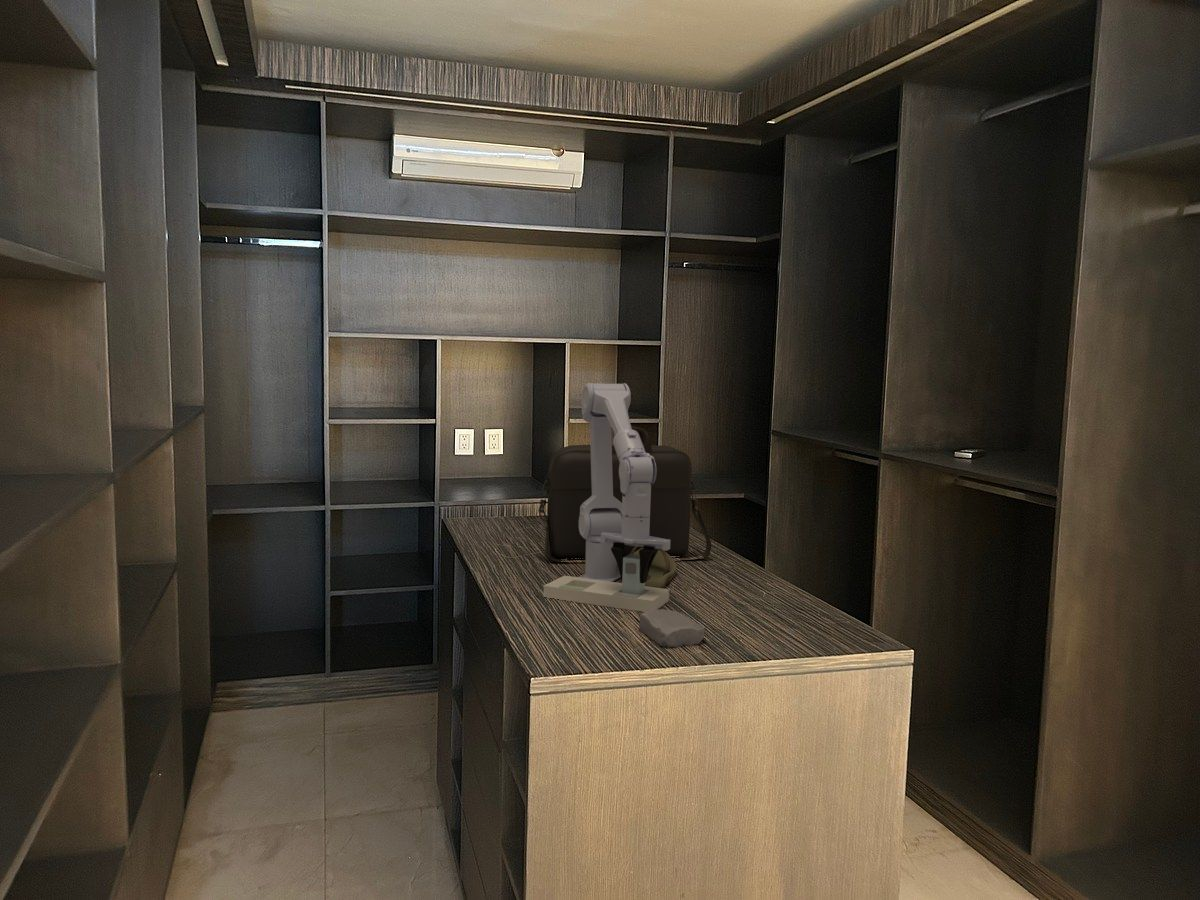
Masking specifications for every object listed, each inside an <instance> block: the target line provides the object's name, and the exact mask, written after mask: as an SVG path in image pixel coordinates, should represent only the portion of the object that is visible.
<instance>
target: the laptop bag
mask: <svg viewBox="0 0 1200 900" xmlns="http://www.w3.org/2000/svg"><path fill="white" fill-rule="evenodd" d="M631 428H632V429H633V430H636V431H637V432H638V434H639V436H640V439H641V441H642V444H643V447H644V449H645V452H646V453H649V455H650V456H653V458H654V460H655V463H656V479H655V482H654V483H653V484H651V501H650V529H649V536H653V537H658V538H663V539H669V540H670V549H669V550H667V551H665V550H664V551H665V552H666V553H667V554H669V555H670V556H683V555H685V556H686V555H687V554H688V552H689V547H690V546H689V545H690V525H691V512H692V515H693V516H694V518H695V519H696V521H697V523H698V524H699V527H700V528H701V531H702V532H703V535H704V537H705V543H706V548H705V550H704V552H703V553H702V554H700V555H702V556H703V557H706V558H708V557H709V556H710V554H711V551H712V541H711V538H710V535H709V532H708V530H707V527H706V525H705V523H704V520H703V518H702V515H701V510H700V509H699V506H698V504H699V502H698V498H697V488H696V486H695V483H694V481H692V477H693V474H692V473H693V469H692V462H691V461H692V460H691V458H690V456H689V455H688V454H687V453H686V452H684V451H682V450H679V449H678V448H674V447H671V446H669V445H661V444H659V445H656V444H655V445H652V441H651V438H650V435H649V433H648V432H647V431H646V430H645V429H644V428H642V427H639V426H634V425H631ZM611 430H613V429H612V427H611ZM548 465H549V466H548V472H547V474H546V478H545V480H544V482H543V486H542V489H541V493H542V494H541V498H543V497H544V499H540V501H539V508H538V511H537V512H538V514H539V518H540V520H541V521H542V522H543V525H544V529H545V537H544V550H545V553H546V555H547V557H548V558H549V559H550V560H551V561H553V562H556V563H560V562H561V561H562V560H561V559H566V558H567V559H569V560H579V559H578V558H581V559H582V558H586V539H584V538H583V537H582V536H581V534H580V532H579V516H580V506H581V505H582V503H584V502H585V501H586V500H587V499H588V498H590V497H591V496H592V482H591V447H590V444H574V445H568V446H564V447H562V448H560V449H558V450H557V451H555V452H554V453H553V454H552V456H551V459H550V462H549V464H548ZM619 465H620V462H619V459H618V456H617V453H616V450H615V447H614V445H613V444H612V475H613V496H614V497H615V498H616V499H618V500H619V501H620V502H621V503H622V496H623V493H622V492H621V489H620V478H619ZM693 491H694V492H695V493H694V494H695V498H694V495H693ZM544 492H546V494H545V496H543V494H544ZM546 505H547V506H546ZM691 505H692V506H691ZM545 506H546V507H547V511H546V512H547V514H546V512H545ZM601 510H612V509H611V508H595V509H592V510H591V511H601ZM542 513H543V516H544V520H545V521H544V520H543V517H542ZM545 522H546V523H545ZM634 547H635V546H631V547H630V552H631V550H632V549H633V548H634ZM630 552H629V554H630ZM683 557H684V556H683ZM571 558H573V559H571ZM575 558H577V559H575Z"/></svg>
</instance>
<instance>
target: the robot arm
mask: <svg viewBox="0 0 1200 900" xmlns="http://www.w3.org/2000/svg"><path fill="white" fill-rule="evenodd" d="M631 395H632V394H631V389H630V387H629V385H628V384H627V383H626V382H624V383H594V382H593V383H592V382H586V383H585V385H584V386H583V388H582V393H581V415H582V420H583V421H585V422H587V423H588V426H589V441H590V444H589V445H590V447H591V482H592V496H591V497H590V498H588V499H587V500H586V501H585V502H584V503H582V505H581V506H580V516H579V532H580V534H581V536H582V537H583V538H584V539H586V559H585V563H584V565H585V566H584V573H583V574H581V575H579V576H578V577H579V578H587V579H594V580H602V581H609V582H615V581H617V580H619V579H620V582H622V577H623V557H625V556H627V555H629V552H630V547H631V546H638V547H643V549H641V550H639V555H640V567H641V568H640V583H645V582H647V577H648V573H649V570H650V567H651V564H652V562H653V560H654V558H655V556H656V554H657V552H658V550H659V549H662V550H665V551H667V550H669V549H670V540H669V539H663V538H658V537H653V536H649V529H650V501H651V484H653V483H654V482H655V479H656V463H655V460H654V458H653V456H650V455H649V453H646V452H645V449H644V447H643V444H642V441H641V439H640V436H639V434H638V431H637V430H636V429H633V428H631V426H632V424H631V421H630V416H629V407H630V406H631V400H632V399H631V397H632V396H631ZM611 427H612V429H611ZM612 430H613V432H614V437H613V439H612ZM612 445H614V447H615V450H616V453H617V456H618V459H619V462H620V465H619V478H620V489H621V492H622V493H623V496H622V503H621V502H620V501H619V500H618V499H616V498H615V497H614V496H613V475H612ZM595 508H611V509H612V510H601V511H591V510H592V509H595Z"/></svg>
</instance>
